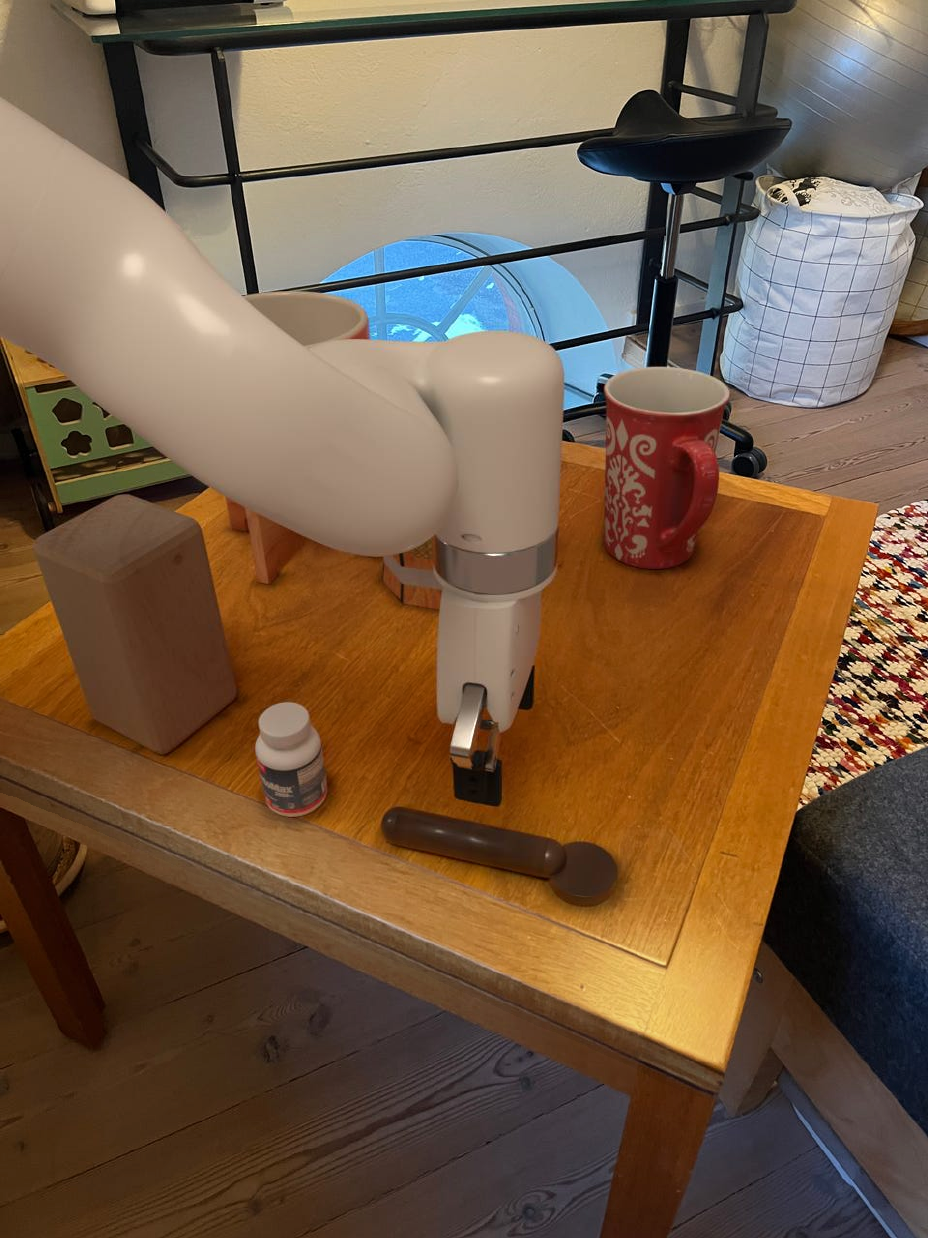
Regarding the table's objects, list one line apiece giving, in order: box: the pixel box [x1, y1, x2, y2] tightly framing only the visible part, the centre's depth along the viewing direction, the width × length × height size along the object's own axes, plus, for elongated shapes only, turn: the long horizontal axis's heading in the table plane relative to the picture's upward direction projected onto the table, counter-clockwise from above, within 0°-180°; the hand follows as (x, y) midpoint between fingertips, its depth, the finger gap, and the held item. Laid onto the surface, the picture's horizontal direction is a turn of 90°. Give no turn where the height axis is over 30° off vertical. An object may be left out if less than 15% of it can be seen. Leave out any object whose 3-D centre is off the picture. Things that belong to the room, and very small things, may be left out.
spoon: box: [379, 805, 618, 907], centre depth 71 cm, size 19×5×3 cm, turn 74°
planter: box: [225, 290, 379, 585], centre depth 102 cm, size 20×20×27 cm
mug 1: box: [381, 538, 443, 611], centre depth 100 cm, size 20×14×15 cm
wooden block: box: [32, 493, 238, 755], centre depth 80 cm, size 10×10×20 cm
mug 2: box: [603, 366, 731, 570], centre depth 100 cm, size 18×13×20 cm
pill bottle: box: [254, 701, 328, 818], centre depth 75 cm, size 5×5×9 cm
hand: (496, 749), depth 65 cm, fingers open, 9 cm apart
